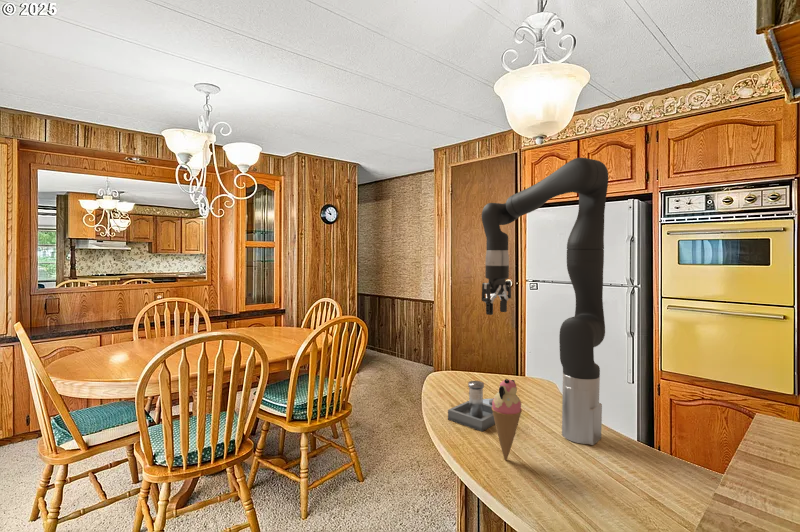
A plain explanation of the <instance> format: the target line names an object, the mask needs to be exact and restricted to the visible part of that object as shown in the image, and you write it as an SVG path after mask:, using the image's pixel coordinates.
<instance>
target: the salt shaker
mask: <svg viewBox="0 0 800 532" xmlns="http://www.w3.org/2000/svg"><path fill="white" fill-rule="evenodd" d="M467 384H468V385H467V386H468V388H469V391H468V394H469V395H468V397H469V399H468V401H469V415H470V416H473V417H476V418H482V417H483V399H484V391H483V390H484V387H485V383H484V382H482V381H480V380H471V381H468V383H467Z"/></svg>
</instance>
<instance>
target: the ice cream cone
mask: <svg viewBox="0 0 800 532" xmlns="http://www.w3.org/2000/svg"><path fill="white" fill-rule="evenodd" d="M517 390H518V387H517V384H516V381H515V379H509V378H508V379H507V378H505V379H503V380H502V381H501V382H500V383H499V387H498V392H496V393H495V395H493V398H492V399H493V402H492V408H491V409H492V411H493V416H494V420H495V425H494V426H495V428H496V432H497V437H498V441H499V445H500V448H501V452H502V455H503V459H504V460H505V461H507V460H508V459H509V454H510V451H511V448H512V446H513V442H514V438H515V435H516V432H517V428H518V426H519V425H518V424H519V421H520V418H521V413H523V410H522V402H521V399H520V397H519V396H518V395H517V392H518V391H517Z"/></svg>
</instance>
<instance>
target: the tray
mask: <svg viewBox="0 0 800 532" xmlns="http://www.w3.org/2000/svg"><path fill="white" fill-rule="evenodd" d="M491 408H492V406H491V405H488V404H484V403H483V417H482V418H476V417H473V416H470V415H469V400H467V401H465V402H462V403H459V404H458V405H456V406H454V407H451V408H449V409H448V410H447V420H448V421H451V422H453V423H456V424H459V425H462V426H465V427H468V428H470V429H474V430H476V431H479V432H484V431H487V430H488V429H489V428H491V427H493V426H495V425H494V424H495V420H494V416H493V411H492V409H491Z"/></svg>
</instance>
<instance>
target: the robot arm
mask: <svg viewBox="0 0 800 532" xmlns="http://www.w3.org/2000/svg"><path fill="white" fill-rule="evenodd" d="M608 186H609V172H608V168H607V166H606V164H604V162H602V161H600V160H597V159H592V158H587V157H575V158H573V159H571V160H569V161H568V162H566V163H565V164H563V165H561V166H560V167H559V168H558V169H556V170H555V171H553V172H552V173H551V174H549V175H547V176H546V177H544V178H543V179H541V180H540V181H538V182H537V183H535V184H533V185H531V186H529V187H527V188H525V189H523V190H521V191H518V192H516V193H515V194H512V195H510V196H508V198H507V199H506V202H504V203H502V202H501V203H498V202H489V203H486V205H485V204H484V207H483V208H482V210H481V222H482V226H483V229H484V230H483V231H484V234H485V238H486V241H485V242H486V246H485V247H486V251H485V266H484V267H485V273H484V274H485V278H486V279H487V280H488V281H487V282H482V287H481V301H482V302H484V303H485V314H486V315H489V316H492V315H494V302H495V299H496V298H497V297H499V299H500V301H499V311H500V312H501V313H506V312H507V311H508V301H509V299H512V281H511V280H509V278H510V277H509V276H510V254H509V235H508V234H507V233H506V232H504V231H502V230H501V226H505V225H506V226H507V225H509V224H512V223H513V222H514V221H516V220H517V219H519V218H520V217H521V216H524V215H527V214H529V213H532V212H534V211H536V210H538V209H539V208H542V207H543V205H545V204H546V203H547V202H548V201H549V200H551V199H553V198H556V197H558V196H560V195H565V194H569V193H576V194H578V211H577V212H578V213H577V217H576V220H575V222H574V225H573V226H572V228H571V231H570V234H569V236H568V238H567V244H566V269H567V273H568V276H569V281H571V285H572V287H573V291H574V295H575V309H574V310H575V312H574V316H571V317H569V318H566V319H565V320H563V322H562V323H561V325H560V328H559V336H558V337H559V339H558V341H559V360H560V364H561V367H562V403H561V404H562V405H561V406H562V407H561V435H562V437H563V438H565V439H566V440H568V441H571V442H573V443H578V444H582V445H583V444H584V445H585V444H586V445H591V446H594V445H595V444H596V443H598V442H599V441H600V440H601V439H602V425H603V424H602V423H603V420H602V419H603V404H602V403H600V387H601V386H600V384H601V383H600V380H601V375H600V374H601V368H600V366H599V364H598V363H596V362H595V355H594V353H595V352H594V351H595V350H594V349H595V348H596V347H598V346H599V345H601V343H603V341H604V339H605V336H606V325H605V313H604V312H605V311H604V301H603V300H604V299H603V296H604V295H603V291H604V266H605V264H604V263H605V261H604V260H605V255H604V254H605V239H604V238H605V209H606V202H607V201H606V200H607V195H608Z"/></svg>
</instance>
